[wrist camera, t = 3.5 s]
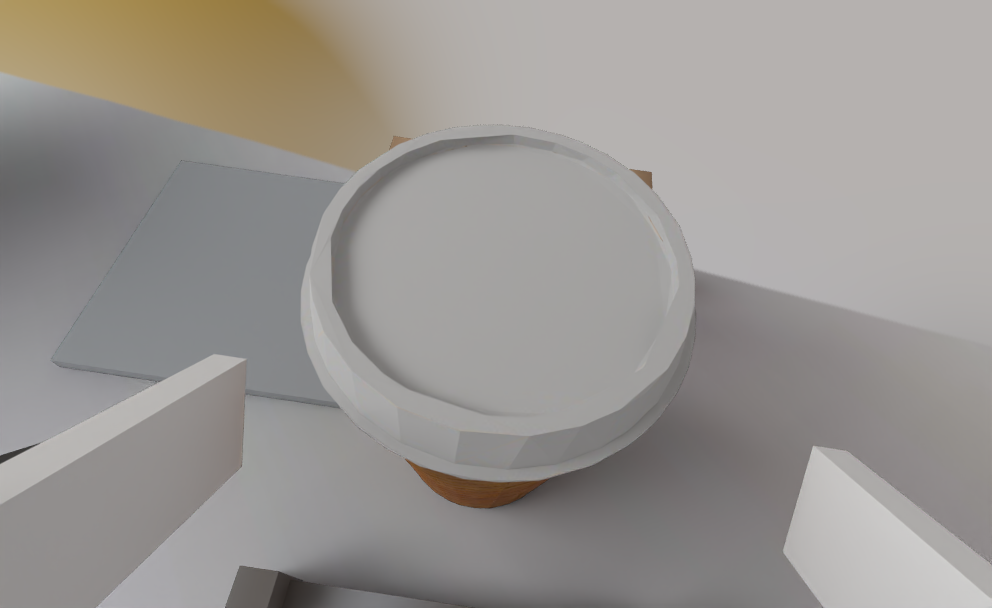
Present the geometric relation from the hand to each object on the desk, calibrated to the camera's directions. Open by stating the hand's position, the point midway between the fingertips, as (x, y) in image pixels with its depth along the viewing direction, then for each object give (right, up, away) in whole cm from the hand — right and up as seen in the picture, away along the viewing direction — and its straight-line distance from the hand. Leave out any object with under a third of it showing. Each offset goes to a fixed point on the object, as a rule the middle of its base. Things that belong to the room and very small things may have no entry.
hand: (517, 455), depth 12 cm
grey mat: (-12, +5, +13) cm, 19 cm away
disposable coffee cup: (-1, -2, +10) cm, 10 cm away
